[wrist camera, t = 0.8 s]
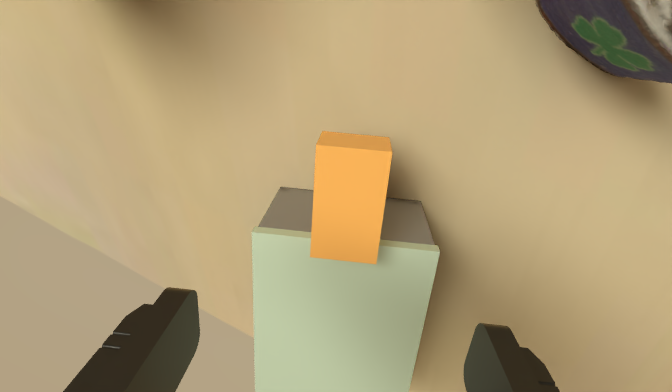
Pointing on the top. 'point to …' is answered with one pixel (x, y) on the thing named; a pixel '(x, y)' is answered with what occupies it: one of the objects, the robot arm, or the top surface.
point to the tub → (397, 225)
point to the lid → (340, 283)
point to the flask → (616, 34)
